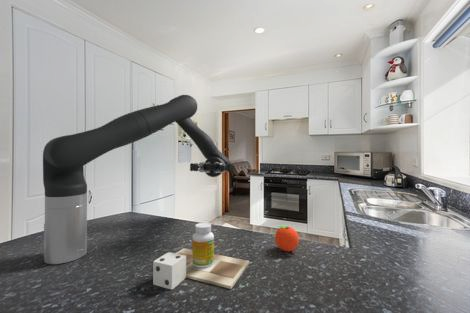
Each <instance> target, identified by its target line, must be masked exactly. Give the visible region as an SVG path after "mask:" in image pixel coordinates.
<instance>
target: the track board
mask: <svg viewBox="0 0 470 313" xmlns="http://www.w3.org/2000/svg"><path fill="white" fill-rule="evenodd" d="M174 253H175V254H180V255H185V256H186V278H187V279H191V280H194V281H199V282H201V283H206V284H210V285H213V286H218V287H220V288H221V287H222V288H225V289H230V290H231V289H233V287H234V286H235V284H236V283H237V281H238V280H239V279H240V277H241V276H242V274H244V272H245V270H246V269H247V268H248V266H249V264H250V260H247V259H241V258H236V257H232V256H231V257H230V256H226V255H222V254H221V255H220V254H215V253H214V263H213V264H212V265H211V266H209V267H206V268H198V267H195V266H194V265H193V263H192V249H189V248H184V247H183V248H182V249H180V250H178V251H177V252H174ZM186 278H185V279H186Z"/></svg>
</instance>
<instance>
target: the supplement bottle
mask: <svg viewBox="0 0 470 313" xmlns="http://www.w3.org/2000/svg"><path fill="white" fill-rule="evenodd" d="M194 226H195V227H194V230H195V232H194V233H193V235H192V246H191V247H192V249H191V250H192V263H193V265H194V266H195V267H198V268H206V267H209V266H211V265H212V264H213V263H214V254H215V235H214V232H212V224H211V223H209V222H199V223H196V224H195V225H194Z"/></svg>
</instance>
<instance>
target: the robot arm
mask: <svg viewBox="0 0 470 313" xmlns="http://www.w3.org/2000/svg"><path fill="white" fill-rule="evenodd" d="M197 111H198V102H197V100H196V99H195V98H194V97H193V96H191V95H189V94H181V95H179V96H176V97H174V98H172V99H170V100H169V101H168V102H166V103H162V104H159V105H157V104H156V105H153V106H149V107H145V108H142V109H138V110H134V111H131V112H129V113H126V114H123V115H121V116H118V117H116V118H114V119H113V120H111V121H109V122H107V123H105V124H104V125H102V126H99V127H96V128H93V129H90V130H87V131H86V130H85V131H82V132H78V133H73V134H67V135H63V136H58V137H55V138H52V139H51V140H49V141H48V142H47V143H46V144H45V145H44V148H43V151H42V152H43V153H42V182H43V183H42V184H43V189H44V222H43V259H44V263H45V264H46V265H47V264H48V265H60V264H65V263H69V262H70V263H71V262H73V261H76V260H79V259H80V258H82V257H85V256H86V254H87V248H88V247H87V246H88V245H87V244H88V243H87V241H88V231H87V230H88V185H87V181H86V178H85V173H84V166H85V165H86V166H87V164H89V163H91V162H92V161H94V160H96V159H97V158H100V157H101V156H103V155H105V154H107V153H109V152H111V151H113V150H114V149H115V150H116V149H118V148H122V147H125V146H128V145H130V144H133V143H135V142H138V141H141V140H143V139H145V138H147V137H149V136H151V135H153V134H155V133H156V132H160V130H163V129H164V128H165V127H168V126H169V125H171V124H173V123H176V124H177V125H178V126H179V127H180V128H181V129H182V131H184V132H185V133H186V134H187V136H188V137H189V138H190V139H191V141H192V142H193V143H194V144H195V145H196V148H198V150H199V151H200V152H201V154H202V156H203V157H204V158H205V159H206V160H205V161H204V162H201V161H200V162H199V163H198V162H197V163H196V162H195V163H189V171H190V172H199V173H205V174H206V175H207V176H208V177H210V178H216V177H219V176H221V175H222V174H223V173H226V172H228V173H231V172H232V162H231V160H230V159H229V157H227V156H226V155H225V154H223V153H222V151H220V149H219V148H218V147H217V146H216V143H215V142H214V141H213V139H212V138H211V137H210V135H208V134H207V132H205V131H204V130H202V129H201V128H200V127H198V125H196V124H195V123H194V121H193V120H192V117H193V116H194V115H195V114H196V113H197Z"/></svg>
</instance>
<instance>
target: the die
mask: <svg viewBox="0 0 470 313" xmlns="http://www.w3.org/2000/svg"><path fill="white" fill-rule="evenodd" d="M175 253H176V252H170V251H168V252H166V253H164V254H163V255H162V256H160V257H159V258H156V259H155V260H153V264H152V265H153V266H152V267H153V268H152V270H153V272H152V278H153V279H152V281H153V282H152V285H153V286H157V287H161V288H164V289H168V290H174V289H175V288H176V287H177V286H178V285H179V284H181V283H182V282H183V281H184V280H185V279H186V256H185V255H180V254H175Z"/></svg>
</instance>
